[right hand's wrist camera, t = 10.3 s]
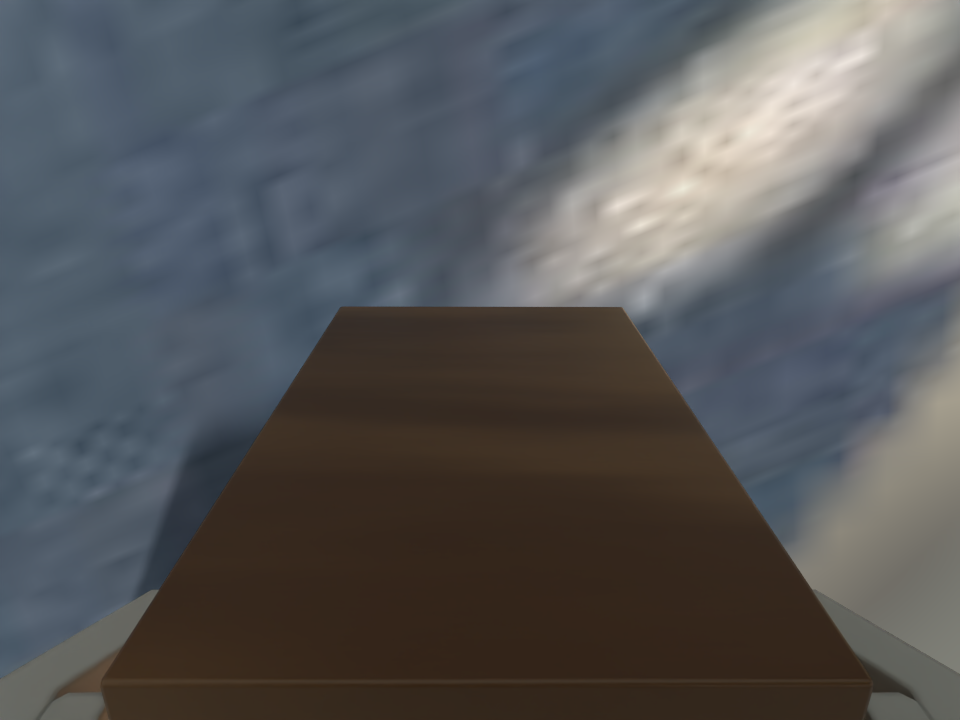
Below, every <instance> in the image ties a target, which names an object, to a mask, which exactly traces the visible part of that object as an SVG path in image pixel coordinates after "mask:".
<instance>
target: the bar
mask: <svg viewBox="0 0 960 720" xmlns="http://www.w3.org/2000/svg"><path fill="white" fill-rule="evenodd" d="M100 688H101V692H102V696H103V699H104V703H105V707H106V711H107V714H108V718H109V720H864V719H865V715H866V712H867V708H868V705H869V701H870V698H871V694H872V691H873V681H872V678H871V677H870V675H869V674H868V672H867V671H866V669H865V668H864V666H863V665H862V663H861V662H860V660H859V659H858V658H857V656H856V655H855V653H854V652H853V650H852V649H851V647H850V646H849V644H848V643H847V641H846V640H845V638H844V637H843V635H842V634H841V632H840V631H839V629H838V628H837V626H836V625H835V623H834V622H833V620H832V619H831V617H830V616H829V614H828V613H827V611H826V610H825V608H824V607H823V605H822V604H821V602H820V601H819V599H818V598H817V596H816V595H815V593H814V592H813V590H812V589H811V588H810V586H809V584H808V583H807V582H806V580H805V579H804V577H803V576H802V574H801V573H800V571H799V570H798V568H797V567H796V565H795V564H794V562H793V561H792V559H791V558H790V556H789V555H788V553H787V552H786V550H785V549H784V547H783V546H782V544H781V543H780V541H779V540H778V538H777V537H776V535H775V534H774V532H773V531H772V529H771V528H770V526H769V525H768V523H767V522H766V520H765V519H764V517H763V516H762V514H761V513H760V511H759V510H758V508H757V507H756V506H755V504H754V503H753V501H752V500H751V498H750V497H749V495H748V494H747V492H746V491H745V489H744V488H743V486H742V485H741V483H740V482H739V480H738V479H737V477H736V476H735V474H734V473H733V471H732V470H731V468H730V467H729V465H728V464H727V462H726V461H725V459H724V458H723V456H722V455H721V453H720V452H719V450H718V449H717V447H716V446H715V444H714V443H713V441H712V440H711V438H710V437H709V435H708V434H707V432H706V431H705V429H704V428H703V427H702V425H701V424H700V422H699V421H698V419H697V418H696V416H695V415H694V413H693V412H692V410H691V409H690V407H689V406H688V404H687V403H686V401H685V400H684V398H683V397H682V395H681V394H680V392H679V391H678V389H677V388H676V386H675V385H674V383H673V382H672V380H671V379H670V377H669V376H668V374H667V373H666V371H665V370H664V368H663V367H662V365H661V364H660V362H659V361H658V359H657V358H656V356H655V355H654V353H653V352H652V351H651V349H650V348H649V346H648V345H647V343H646V342H645V340H644V339H643V337H642V336H641V334H640V333H639V331H638V330H637V328H636V327H635V325H634V324H633V322H632V321H631V319H630V318H629V316H628V315H627V313H626V312H625V310H624V309H623V308H622V307H340V309H339V310H338V312H337V313H336V315H335V317H334V318H333V320H332V321H331V323H330V324H329V326H328V327H327V329H326V331H325V332H324V334H323V335H322V337H321V338H320V340H319V341H318V343H317V345H316V346H315V348H314V349H313V351H312V352H311V354H310V355H309V357H308V359H307V360H306V362H305V363H304V365H303V366H302V368H301V369H300V371H299V373H298V374H297V376H296V377H295V379H294V380H293V382H292V383H291V385H290V387H289V388H288V390H287V391H286V393H285V394H284V396H283V397H282V399H281V401H280V402H279V404H278V405H277V407H276V408H275V410H274V412H273V413H272V415H271V416H270V418H269V419H268V421H267V422H266V424H265V426H264V427H263V429H262V430H261V432H260V433H259V435H258V436H257V438H256V440H255V441H254V443H253V444H252V446H251V447H250V449H249V450H248V452H247V454H246V455H245V457H244V458H243V460H242V461H241V463H240V464H239V466H238V468H237V469H236V471H235V472H234V474H233V475H232V477H231V478H230V480H229V482H228V483H227V485H226V486H225V488H224V489H223V491H222V492H221V494H220V496H219V497H218V499H217V500H216V502H215V503H214V505H213V507H212V508H211V510H210V511H209V513H208V514H207V516H206V517H205V519H204V521H203V522H202V524H201V525H200V527H199V528H198V530H197V531H196V533H195V535H194V536H193V538H192V539H191V541H190V542H189V544H188V545H187V547H186V549H185V550H184V552H183V553H182V555H181V556H180V558H179V559H178V561H177V563H176V564H175V566H174V567H173V569H172V570H171V572H170V573H169V575H168V577H167V578H166V580H165V581H164V583H163V584H162V586H161V588H160V589H159V591H158V592H157V594H156V595H155V597H154V598H153V600H152V602H151V603H150V605H149V606H148V608H147V609H146V611H145V612H144V614H143V616H142V617H141V619H140V620H139V622H138V623H137V625H136V626H135V628H134V630H133V631H132V633H131V634H130V636H129V637H128V639H127V640H126V642H125V644H124V645H123V647H122V648H121V650H120V651H119V653H118V654H117V656H116V658H115V659H114V661H113V662H112V664H111V665H110V667H109V668H108V670H107V672H106V673H105V675H104V676H103V678H102V680H101V685H100Z"/></svg>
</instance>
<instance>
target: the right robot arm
mask: <svg viewBox="0 0 960 720" xmlns="http://www.w3.org/2000/svg"><path fill="white" fill-rule="evenodd" d="M158 591H159V590H150V591H149V592H147V593H145V594H144V595H142V596H140V597H139V598H137V599H135V600H133V601H132V602H130V603H128V604H127V605H125V606H123V607H122V608H120V609H118V610H117V611H115V612H113V613H111V614H110V615H108V616H106V617H105V618H103V619H101V620H100V621H98V622H96V623H94V624H93V625H91V626H89V627H88V628H86V629H84V630H83V631H81V632H79V633H77V634H76V635H74V636H72V637H71V638H69V639H67V640H66V641H64V642H62V643H60V644H59V645H57V646H55V647H54V648H52V649H50V650H49V651H47V652H45V653H44V654H42V655H40V656H38V657H37V658H35V659H33V660H32V661H30V662H28V663H27V664H25V665H23V666H21V667H20V668H18V669H16V670H15V671H13V672H11V673H10V674H8V675H6V676H4V677H3V678H1V679H0V720H109V718H108V714H107V711H106V707H105V703H104V699H103V696H102V692H101V688H100V685H101V680H102V678H103V676H104V675H105V673H106V672H107V670H108V668H109V667H110V665H111V664H112V662H113V661H114V659H115V658H116V656H117V654H118V653H119V651H120V650H121V648H122V647H123V645H124V644H125V642H126V640H127V639H128V637H129V636H130V634H131V633H132V631H133V630H134V628H135V626H136V625H137V623H138V622H139V620H140V619H141V617H142V616H143V614H144V612H145V611H146V609H147V608H148V606H149V605H150V603H151V602H152V600H153V598H154V597H155V595H156V594H157V592H158ZM813 592H814V593H815V595H816V596H817V598H818V599H819V601H820V602H821V604H822V605H823V607H824V608H825V610H826V611H827V613H828V614H829V616H830V617H831V619H832V620H833V622H834V623H835V625H836V626H837V628H838V629H839V631H840V632H841V634H842V635H843V637H844V638H845V640H846V641H847V643H848V644H849V646H850V647H851V649H852V650H853V652H854V653H855V655H856V656H857V658H858V659H859V660H860V662H861V663H862V665H863V666H864V668H865V669H866V671H867V672H868V674H869V675H870V677H871V678H872V681H873V691H872V694H871V698H870V701H869V705H868V708H867V712H866V715H865V719H864V720H960V674H959V673H957V672H955V671H953V670H952V669H950V668H948V667H947V666H945V665H943V664H942V663H940V662H938V661H936V660H935V659H933V658H931V657H930V656H928V655H926V654H925V653H923V652H921V651H919V650H918V649H916V648H914V647H913V646H911V645H909V644H907V643H906V642H904V641H902V640H901V639H899V638H897V637H895V636H894V635H892V634H890V633H889V632H887V631H885V630H884V629H882V628H880V627H878V626H877V625H875V624H873V623H872V622H870V621H868V620H866V619H865V618H863V617H861V616H860V615H858V614H856V613H854V612H853V611H851V610H849V609H848V608H846V607H844V606H843V605H841V604H839V603H837V602H836V601H834V600H832V599H831V598H829V597H827V596H825V595H824V594H822V593H820V592H819V591H817V590H813Z"/></svg>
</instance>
